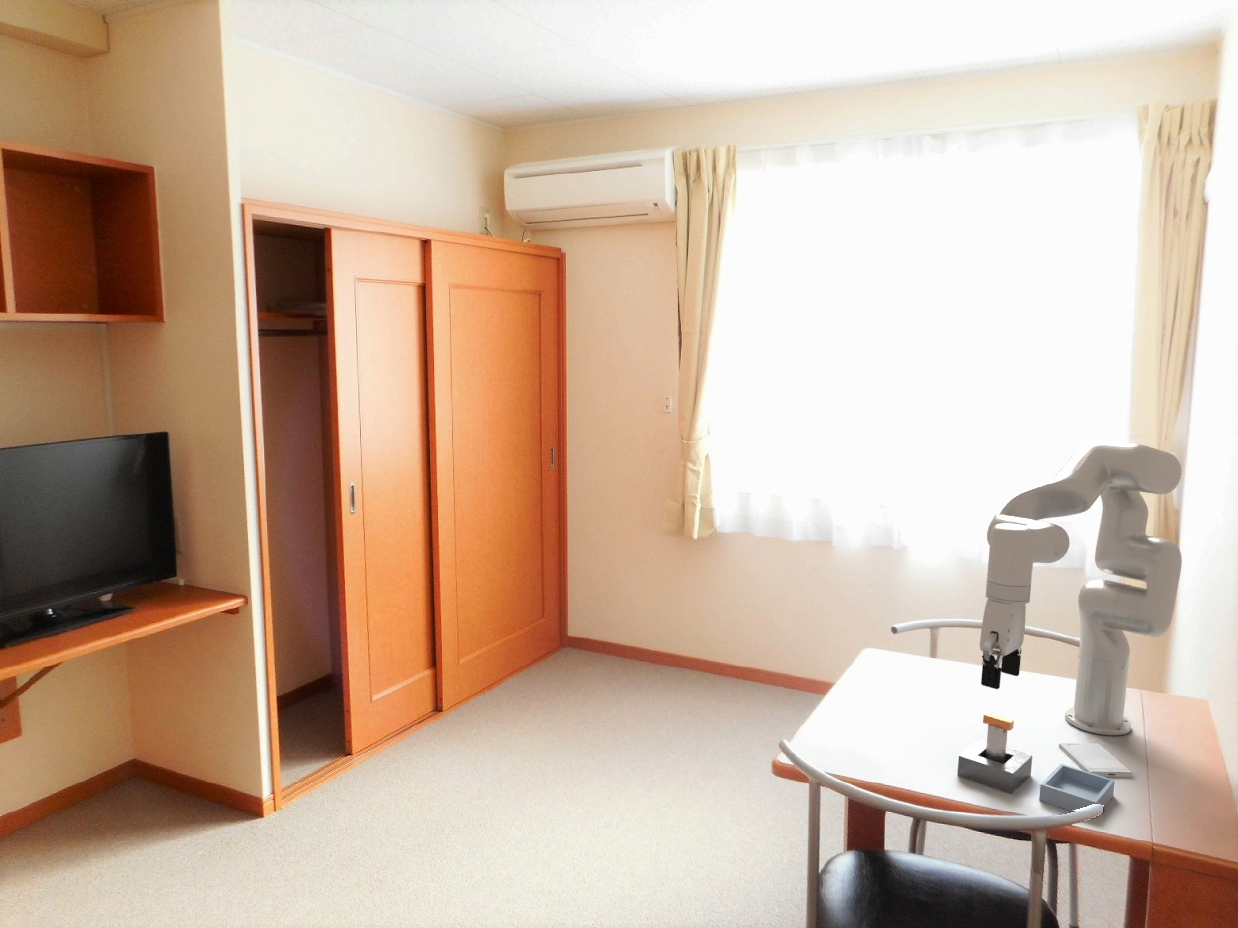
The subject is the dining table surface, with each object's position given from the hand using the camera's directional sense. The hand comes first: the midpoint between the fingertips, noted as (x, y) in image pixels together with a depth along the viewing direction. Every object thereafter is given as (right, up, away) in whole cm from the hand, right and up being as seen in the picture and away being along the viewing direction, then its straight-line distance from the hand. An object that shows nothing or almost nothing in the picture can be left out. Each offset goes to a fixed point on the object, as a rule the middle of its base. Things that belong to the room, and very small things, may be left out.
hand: (1000, 680), depth 169 cm
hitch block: (0, -19, +3) cm, 19 cm away
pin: (0, -19, +3) cm, 19 cm away
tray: (+12, -20, -5) cm, 24 cm away
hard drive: (+23, -19, +9) cm, 31 cm away
